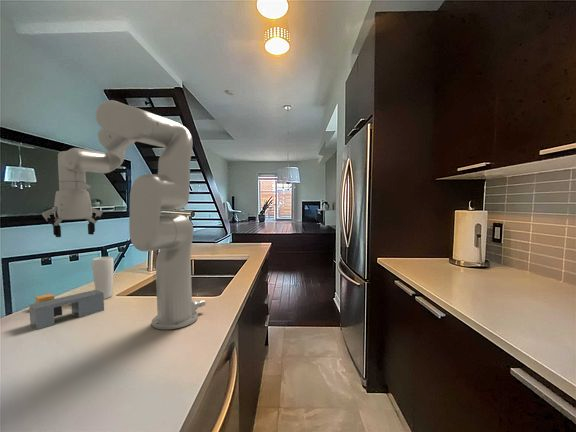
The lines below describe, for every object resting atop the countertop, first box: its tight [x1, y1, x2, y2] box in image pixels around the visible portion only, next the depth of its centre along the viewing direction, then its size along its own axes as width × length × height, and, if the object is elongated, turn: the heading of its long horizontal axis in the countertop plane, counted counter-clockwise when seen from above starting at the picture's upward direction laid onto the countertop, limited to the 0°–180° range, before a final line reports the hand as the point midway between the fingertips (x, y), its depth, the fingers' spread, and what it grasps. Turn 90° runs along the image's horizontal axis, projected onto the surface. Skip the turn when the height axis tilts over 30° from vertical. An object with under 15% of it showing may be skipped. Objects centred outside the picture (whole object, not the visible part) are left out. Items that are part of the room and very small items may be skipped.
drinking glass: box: [91, 256, 115, 300], centre depth 105 cm, size 7×7×15 cm
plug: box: [34, 293, 63, 318], centre depth 92 cm, size 4×17×4 cm, turn 55°
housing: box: [28, 289, 105, 331], centre depth 86 cm, size 17×6×6 cm, turn 145°
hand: (75, 235), depth 98 cm, fingers open, 9 cm apart
